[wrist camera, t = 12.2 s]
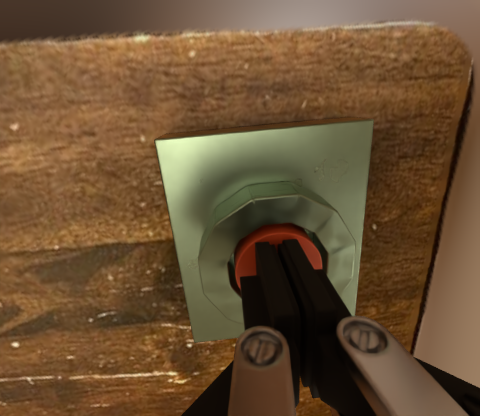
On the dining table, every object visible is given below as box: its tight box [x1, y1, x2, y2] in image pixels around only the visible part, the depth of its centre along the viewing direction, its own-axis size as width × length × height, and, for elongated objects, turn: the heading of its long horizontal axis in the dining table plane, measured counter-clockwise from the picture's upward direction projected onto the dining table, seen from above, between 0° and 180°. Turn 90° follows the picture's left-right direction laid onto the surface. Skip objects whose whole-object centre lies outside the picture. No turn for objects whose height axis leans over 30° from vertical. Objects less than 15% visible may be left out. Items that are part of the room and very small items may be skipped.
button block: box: [154, 117, 374, 343], centre depth 13 cm, size 11×9×4 cm
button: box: [234, 223, 322, 290], centre depth 12 cm, size 4×4×2 cm
